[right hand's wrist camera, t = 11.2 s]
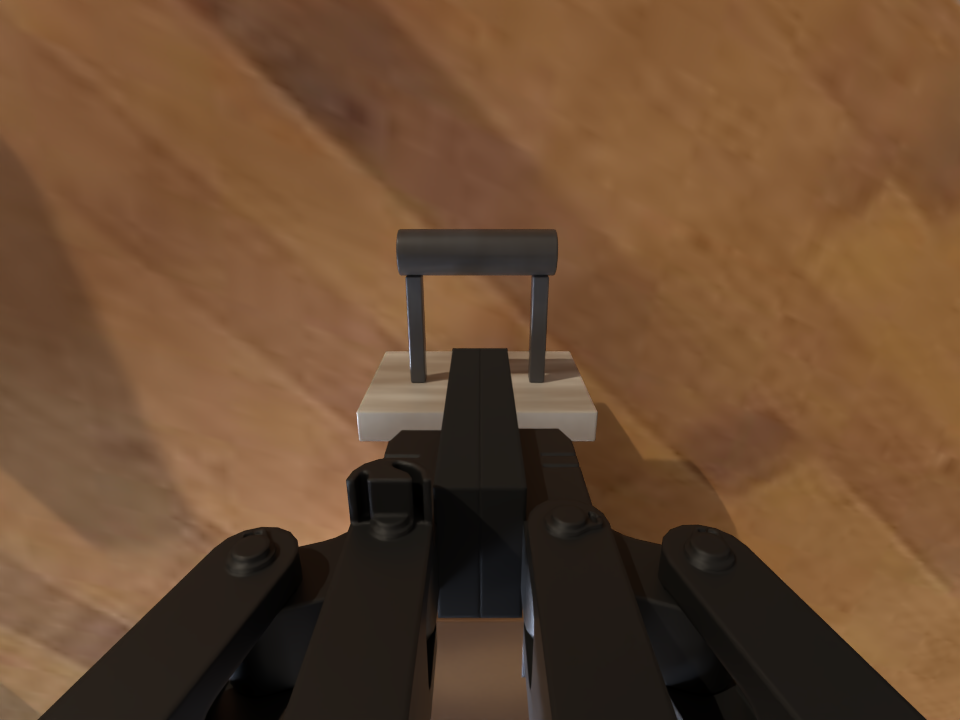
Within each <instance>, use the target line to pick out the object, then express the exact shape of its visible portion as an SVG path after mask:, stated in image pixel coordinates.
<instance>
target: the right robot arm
mask: <svg viewBox="0 0 960 720" xmlns="http://www.w3.org/2000/svg"><path fill="white" fill-rule="evenodd" d="M346 484H347V493H348V503H349V512H350V522H351V524H350V527H349V530H348V532H346V533H344V534H342V535H340V536H338V537H336V538H333V539H329V540H326V541H323V542H318V543H314V544H309V545H305V546H301V547H298V541H297V539H296V538H295V537H294V536H293V535H292V533H291V532H289V531H286V530H284V529H281V528H278V527H260V528H255V529H250V530H245V531H243V532H240V533H238V534H236V535H234V536H231V537H229V538H227V539H226V540H225V541H223V542H222V543H220V544H219V545H218V546H216V547H215V548H214V549H213V550H212V551H211V552H210V553H209V554H208V555H207V556H206V557H205V558H203V559H202V560H201V561H200V562H199V563H198V564H197V565H196V566H195V567H194V568H193V569H192V570H191V571H190V572H189V573H188V574H187V575H186V576H185V577H184V578H183V579H182V580H181V581H180V582H179V583H178V584H177V585H176V586H175V587H174V588H173V589H172V590H171V591H170V592H169V593H167V594H166V595H165V596H164V597H163V598H162V599H161V600H160V601H159V602H158V603H157V604H156V605H155V606H154V607H153V608H152V609H151V610H150V611H149V612H148V613H147V614H146V615H145V616H144V617H143V618H142V619H141V620H140V621H139V622H138V623H137V624H136V625H135V626H134V627H133V628H131V629H130V630H129V631H128V632H127V633H126V634H125V635H124V636H123V637H122V638H121V639H120V640H119V641H118V642H117V643H116V644H115V645H114V646H113V647H112V648H111V649H110V650H109V651H108V652H107V653H106V654H105V655H104V656H103V657H102V658H101V659H100V660H99V661H98V662H97V663H96V664H94V665H93V666H92V667H91V668H90V669H89V670H88V671H87V672H86V673H85V674H84V675H83V676H82V677H81V678H80V679H79V680H78V681H77V682H76V683H75V684H74V685H73V686H72V687H71V688H70V689H69V690H68V691H67V692H66V693H65V694H64V695H63V696H62V697H61V698H60V699H58V700H57V701H56V702H55V703H54V704H53V705H52V706H51V707H50V708H49V709H48V710H47V711H46V712H45V713H44V714H43V715H42V716H41V717H40V718H39V719H38V720H431V712H432V700H433V688H434V677H435V665H436V653H437V627H436V620H437V609H438V618H522V609H523V617H524V627H523V653H522V677H526V688H527V700H528V711H529V720H926V719H925V718H924V717H923V716H922V715H921V714H920V713H919V712H918V711H917V710H916V709H915V708H914V707H913V706H912V705H911V704H910V703H909V702H908V701H907V700H906V699H905V698H904V697H902V696H901V695H900V694H899V693H898V692H897V691H896V690H895V689H894V688H893V687H892V686H891V685H890V684H889V683H888V682H887V681H886V680H885V679H884V678H883V677H882V676H881V675H880V674H879V673H878V672H877V671H876V670H875V669H873V668H872V667H871V666H870V665H869V664H868V663H867V662H866V661H865V660H864V659H863V658H862V657H861V656H860V655H859V654H858V653H857V652H856V651H855V650H854V649H853V648H852V647H851V646H850V645H849V644H848V643H847V642H846V641H844V640H843V639H842V638H841V637H840V636H839V635H838V634H837V633H836V632H835V631H834V630H833V629H832V628H831V627H830V626H829V625H828V624H827V623H826V622H825V621H824V620H823V619H822V618H821V617H820V616H819V615H818V614H817V613H815V612H814V611H813V610H812V609H811V608H810V607H809V606H808V605H807V604H806V603H805V602H804V601H803V600H802V599H801V598H800V597H799V596H798V595H797V594H796V593H795V592H794V591H793V590H792V589H791V588H790V587H789V586H788V585H786V584H785V583H784V582H783V581H782V580H781V579H780V578H779V577H778V576H777V575H776V574H775V573H774V572H773V571H772V570H771V569H770V568H769V567H768V566H767V565H766V564H765V563H764V562H763V561H762V560H761V559H760V558H758V557H757V556H756V555H755V554H754V553H753V552H752V551H751V550H750V549H749V548H748V547H747V546H746V545H745V544H743V543H742V542H740V541H739V540H738V539H736V538H735V537H734V536H732V535H730V534H728V533H725V532H723V531H721V530H718V529H716V528H712V527H707V526H702V525H682V526H679V527H676V528H673V529H671V530H669V532H668V533H667V534H666V535H665V536H664V537H663V541H662V545H660V544H656V543H651V542H647V541H642V540H638V539H634V538H631V537H628V536H625V535H622V534H620V533H618V532H616V531H614V530H612V529H611V526H610V524H609V522H608V520H607V519H606V517H605V516H604V514H603V513H602V512H600V511H599V510H598V509H596V508H595V507H593V506H592V503H591V500H590V497H589V494H588V490H587V487H586V484H585V481H584V478H583V475H582V472H581V469H580V467H579V462H578V459H577V456H576V453H575V450H574V447H573V444H572V441H571V439H570V438H568V437H567V436H566V435H565V434H564V433H563V432H562V431H561V430H560V429H558V428H518V421H517V414H516V406H515V399H514V392H513V385H512V378H511V371H510V364H509V357H508V350H507V348H453V350H452V357H451V364H450V371H449V378H448V385H447V392H446V399H445V406H444V414H443V421H442V428H441V430H401V431H400V432H399V433H398V434H397V435H396V436H395V437H393V438H392V439H391V440H390V441H389V443H388V446H387V449H386V452H385V457H384V458H383V459H378V460H375V461H372V462H369V463H366V464H364V465H362V466H360V467H359V468H357V469H355V470H354V471H353V472H352V473H351V474H350V476H349V477H348V478H347V480H346Z"/></svg>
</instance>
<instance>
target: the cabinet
mask: <svg viewBox="0 0 960 720" xmlns="http://www.w3.org/2000/svg"><path fill="white" fill-rule="evenodd" d="M436 627H437V653H436V665H435V677H434V688H433V700H432V712H431V720H529V711H528V700H527V688H526V677H522V653H523V627H524V617H523V609H522V618H438V609H437V620H436Z"/></svg>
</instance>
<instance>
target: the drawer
mask: <svg viewBox="0 0 960 720" xmlns="http://www.w3.org/2000/svg"><path fill="white" fill-rule="evenodd" d="M396 255H397V266H398V271H399V274H400V275H407V276H406V297H407V317H408V337H409V351H386V353H385V355H384V357H383V359H382V361H381V363H380V365H379V367H378V369H377V371H376V373H375V375H374V377H373V380H372V382H371V384H370V386H369V388H368V390H367V392H366V394H365V396H364V398H363V400H362V402H361V404H360V407H359V409H358V411H357V422H358V433H359V440H360V441H390V440H391V439H392V438H393V437H395V436H396V435H397V434H398V433H399V432H400V431H401V430H441V428H442V421H443V414H444V406H445V399H446V392H447V385H448V378H449V371H450V364H451V357H452V351H426V340H425V314H424V288H423V275H532V280H531V309H530V337H529V351H508V357H509V364H510V371H511V378H512V385H513V392H514V399H515V406H516V414H517V421H518V428H558V429H560V430H561V431H562V432H563V433H564V434H565V435H566V436H567V437H568V438H570V439H571V441H595V438H596V426H597V415H598V412H597V410H596V408H595V406H594V403H593V401H592V399H591V397H590V395H589V392H588V390H587V388H586V386H585V384H584V382H583V379H582V377H581V375H580V373H579V371H578V369H577V366H576V364H575V362H574V360H573V358H572V356H571V353H570V352H569V351H546V332H547V310H548V289H549V277H548V275H555V272H556V268H557V260H558V238H557V232H556V230H555V229H400V230H398V233H397V242H396Z"/></svg>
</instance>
